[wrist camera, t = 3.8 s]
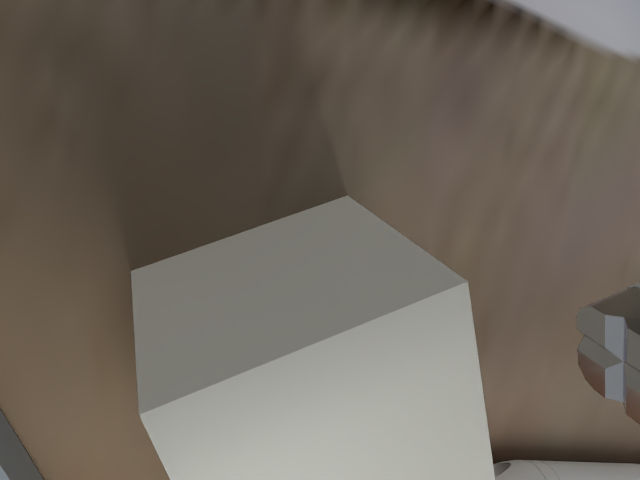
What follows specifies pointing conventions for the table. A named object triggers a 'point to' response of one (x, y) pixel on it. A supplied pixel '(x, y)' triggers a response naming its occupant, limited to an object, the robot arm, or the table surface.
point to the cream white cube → (310, 356)
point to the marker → (564, 470)
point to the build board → (14, 456)
